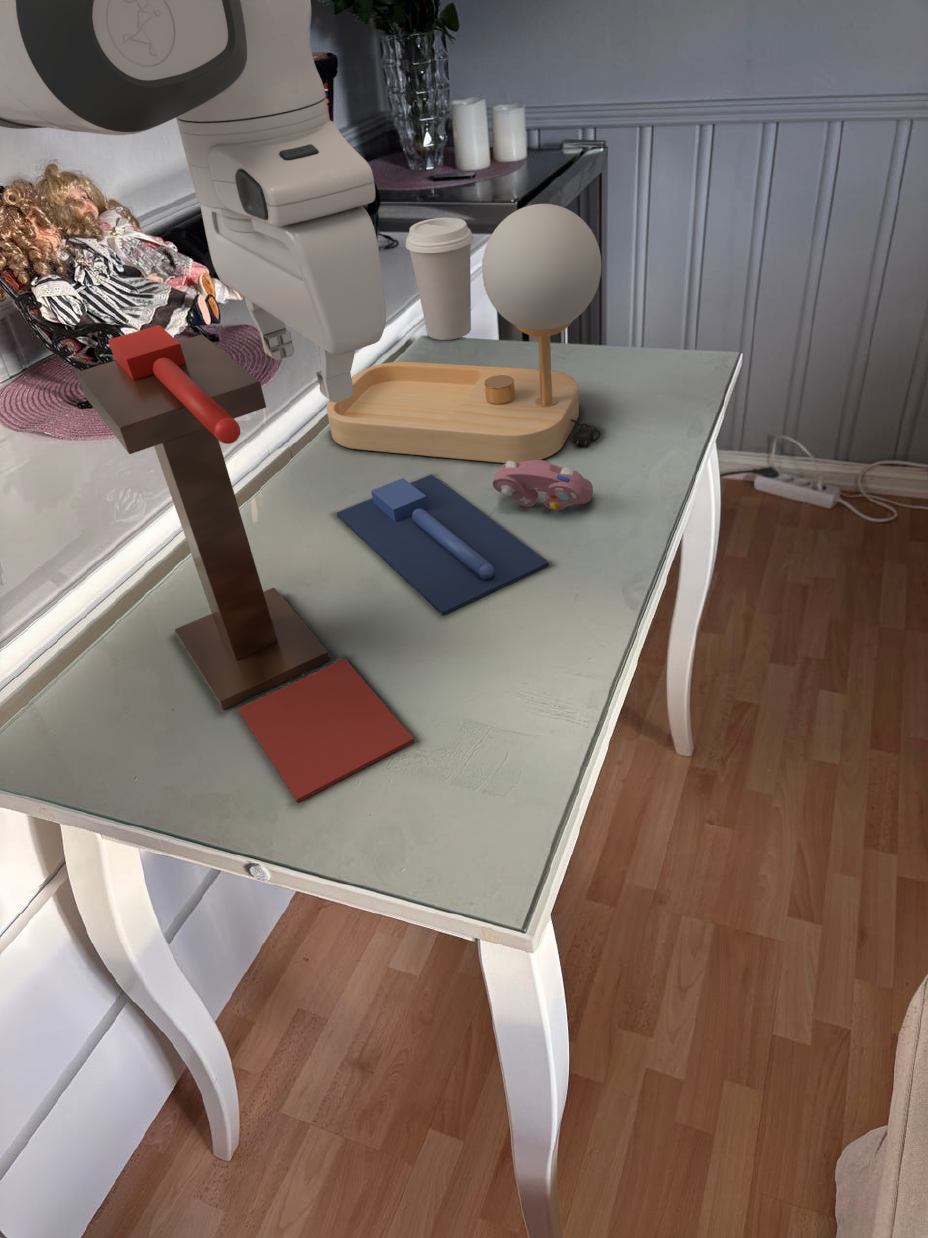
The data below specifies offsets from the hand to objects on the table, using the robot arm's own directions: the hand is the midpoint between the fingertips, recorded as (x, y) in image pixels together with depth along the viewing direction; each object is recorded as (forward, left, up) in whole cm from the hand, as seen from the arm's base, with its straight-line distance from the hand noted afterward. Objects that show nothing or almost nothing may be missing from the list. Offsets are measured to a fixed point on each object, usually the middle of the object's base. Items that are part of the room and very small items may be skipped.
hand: (307, 375), depth 64 cm
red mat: (-7, -6, -26) cm, 27 cm away
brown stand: (-8, +7, -26) cm, 28 cm away
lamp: (+30, +30, -26) cm, 50 cm away
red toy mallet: (-8, +3, 0) cm, 9 cm away
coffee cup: (+44, +57, -26) cm, 76 cm away
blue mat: (+14, +11, -26) cm, 31 cm away
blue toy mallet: (+14, +11, -25) cm, 31 cm away
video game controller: (+26, +9, -26) cm, 38 cm away
